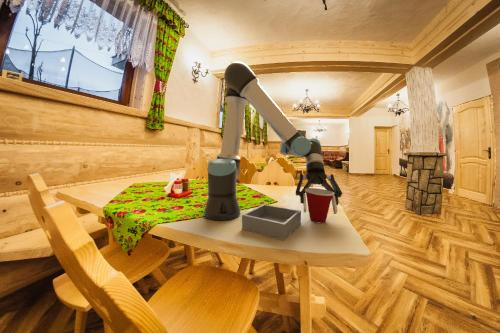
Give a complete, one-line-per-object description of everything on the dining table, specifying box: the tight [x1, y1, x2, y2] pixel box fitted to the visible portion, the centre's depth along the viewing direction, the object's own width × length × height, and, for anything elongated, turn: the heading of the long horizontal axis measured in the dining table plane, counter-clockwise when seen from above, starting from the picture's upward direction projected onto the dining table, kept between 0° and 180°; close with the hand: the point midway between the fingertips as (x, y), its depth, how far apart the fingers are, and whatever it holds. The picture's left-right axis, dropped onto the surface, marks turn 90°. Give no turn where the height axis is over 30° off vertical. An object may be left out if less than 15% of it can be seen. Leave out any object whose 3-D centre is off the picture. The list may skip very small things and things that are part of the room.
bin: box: [241, 203, 302, 241], centre depth 67 cm, size 16×16×5 cm
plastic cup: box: [305, 187, 334, 224], centre depth 72 cm, size 11×11×12 cm
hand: (320, 211), depth 69 cm, fingers open, 10 cm apart
